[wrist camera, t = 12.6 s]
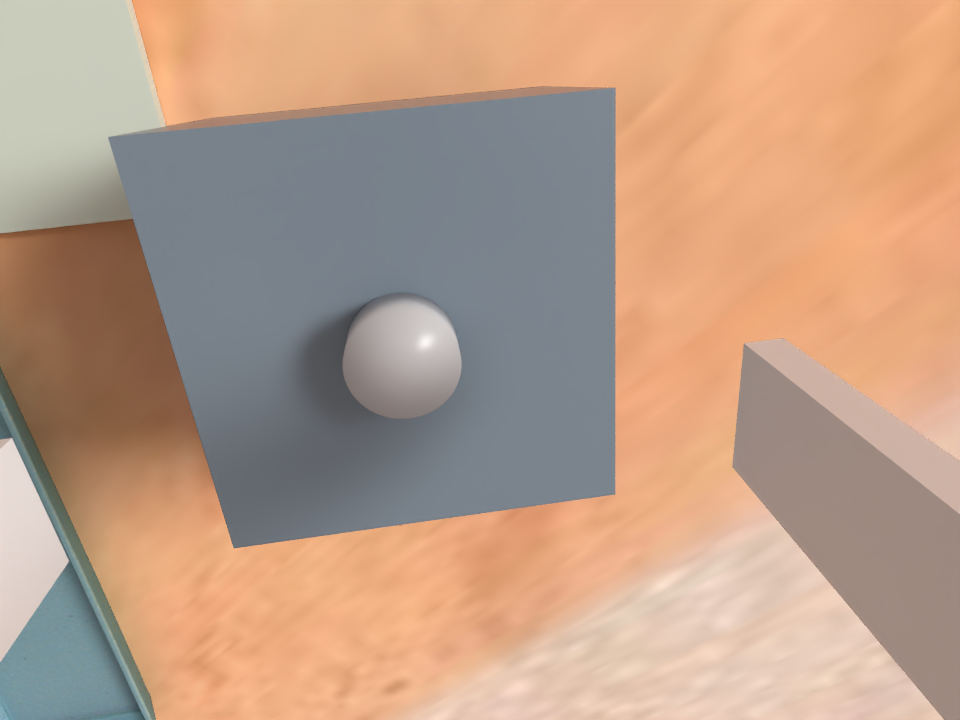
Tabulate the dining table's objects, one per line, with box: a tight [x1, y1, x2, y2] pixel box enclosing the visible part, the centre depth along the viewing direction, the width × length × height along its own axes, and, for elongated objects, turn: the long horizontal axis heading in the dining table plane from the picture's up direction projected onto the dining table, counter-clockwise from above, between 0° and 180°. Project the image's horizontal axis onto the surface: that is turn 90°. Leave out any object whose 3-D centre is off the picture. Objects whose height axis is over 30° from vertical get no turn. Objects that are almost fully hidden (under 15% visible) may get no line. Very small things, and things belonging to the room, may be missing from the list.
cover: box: [108, 86, 615, 548], centre depth 21 cm, size 12×12×10 cm
